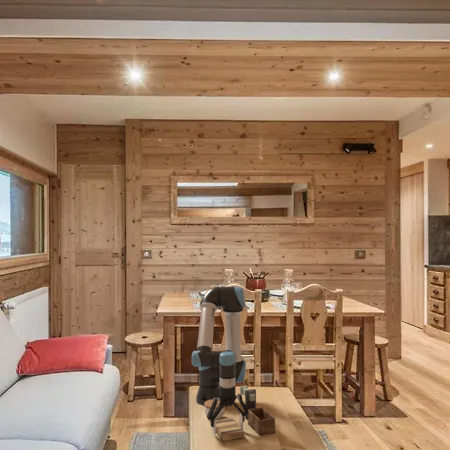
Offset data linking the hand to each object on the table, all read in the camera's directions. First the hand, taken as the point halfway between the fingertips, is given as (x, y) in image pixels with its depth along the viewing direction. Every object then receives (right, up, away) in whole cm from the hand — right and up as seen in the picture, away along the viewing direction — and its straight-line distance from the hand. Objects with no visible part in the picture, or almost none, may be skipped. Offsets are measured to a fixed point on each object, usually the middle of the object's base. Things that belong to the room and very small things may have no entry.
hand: (227, 431), depth 206 cm
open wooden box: (+16, -1, +5) cm, 17 cm away
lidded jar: (-7, -2, +18) cm, 19 cm away
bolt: (+11, +8, +20) cm, 24 cm away
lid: (0, 0, 0) cm, 0 cm away
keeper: (+12, -2, +17) cm, 21 cm away
